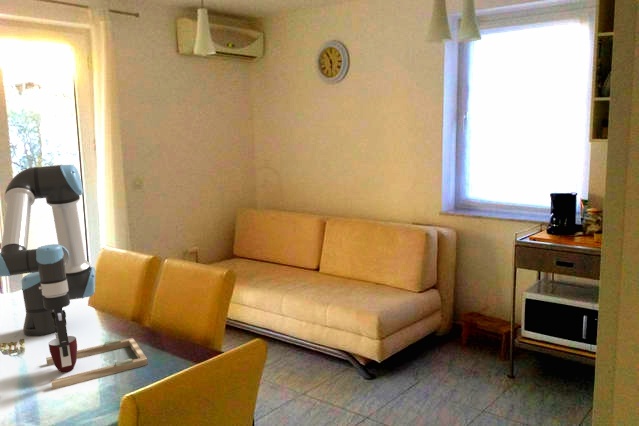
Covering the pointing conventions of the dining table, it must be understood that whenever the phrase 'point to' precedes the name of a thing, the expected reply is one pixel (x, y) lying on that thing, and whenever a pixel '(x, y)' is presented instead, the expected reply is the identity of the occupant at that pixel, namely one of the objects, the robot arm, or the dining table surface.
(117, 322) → the dining table surface
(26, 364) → the dining table surface
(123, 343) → the track
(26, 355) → the dining table surface
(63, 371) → the mug
